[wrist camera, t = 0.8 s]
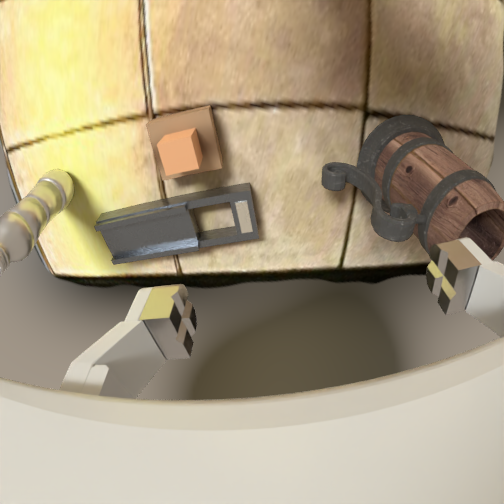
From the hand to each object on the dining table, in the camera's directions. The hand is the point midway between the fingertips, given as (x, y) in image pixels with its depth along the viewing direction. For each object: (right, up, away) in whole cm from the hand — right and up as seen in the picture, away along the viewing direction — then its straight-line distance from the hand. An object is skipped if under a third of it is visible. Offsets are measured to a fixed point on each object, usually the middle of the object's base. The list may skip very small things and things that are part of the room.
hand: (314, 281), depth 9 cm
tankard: (+18, +14, +31) cm, 39 cm away
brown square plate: (-11, +16, +28) cm, 34 cm away
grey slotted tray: (-14, +6, +35) cm, 38 cm away
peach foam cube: (-10, +14, +25) cm, 31 cm away
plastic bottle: (-32, +12, +30) cm, 45 cm away
